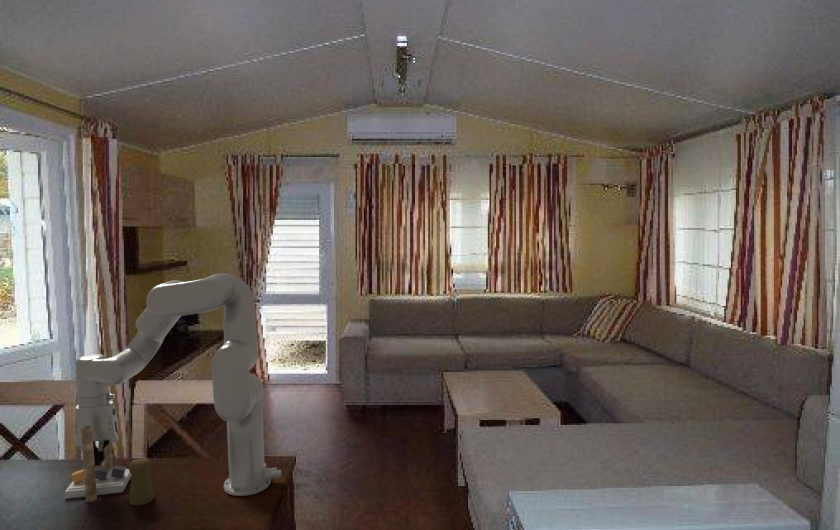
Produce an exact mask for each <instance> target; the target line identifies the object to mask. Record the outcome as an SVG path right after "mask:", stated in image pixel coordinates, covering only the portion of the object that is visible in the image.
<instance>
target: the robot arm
mask: <svg viewBox="0 0 840 530" xmlns="http://www.w3.org/2000/svg"><path fill="white" fill-rule="evenodd" d="M145 302H146V307H145V309H144V310H143V311H142V312H141V313H140V315H139V316H138V317H137V319H136V320H135V327H136V329H137V332H136V334H135V335H134V337H133V338H132V340H131V341H130V342H129V344H128V345H127V346H126V348H125V349H124V350H122V351H121V352H118V353H117V354H115V355H112V356H110V357H108V358H107V357H106V356H105V355H104V354H100V353H91V354H85V355H82V356H79V357H78V358H76V360H75V366H74V367H75V379H76V380H75V381H76V391H77V392H76V395H77V405H76V406H75V410H74V418H73V419H74V420H73V439H74V446H77V447H82V443H81V428H82V427H85V426H92V435H93V449H94V463H95V467H96V466H99V467H100V466H102V462H103V461H104V459H105V453H104V448H105V447H106V446H107V445H108V444H111V445H112V444H113V443H116V442H118V441H119V435H118V433H119V423H118V416H117V410H116V406H115V402H114V401H113V400H114V399H115V398H116V394H115V393H111V391H110V387H109V386H111V387H112V386H119V385H121V384H123V383H125V382H127V381H128V380H130V379H131V378H132V377H134V376H137V374H139V373H141V371H143V369H144V368H145V367H146V366H147V365H148V364H149V363H150V361H151V360H152V359H153V357H155V355H156V353H157V352H158V351H159V349H160V348H161V345H162V344H163V342H164V340H165V337H167V335H168V333H169V332H170V331H171V330H172V328H173V327H174V326H175V324H176V323H177V322H178V321H179V319H180V318H182V317H183V316H189V315H196V314H203V313H208V312H212V311H215V310H217V309H219V308H221V307H223V319H222V325H223V345H222V346H220V347H219V348H218V350H216V352H215V353H214V355H213V358H212V362H211V378H212V379H211V381H212V394H213V397H212V399H213V404H214V405H213V406H214V409H215V412H216V413H217V415H218V417H220V418H221V419H222V420H223V421H225V422H226V429H227V431H226V432H227V433H226V434H227V435H226V436H227V455H228V460H227V461H228V478H227V479H225V481H224V483H223V490H224V492H225V493H226V494H229V495H230V496H231V495H232V496H236V497H246V496H252V495H256V494H260V492H263V491H264V490H266V489H267V488H268V487H269V486H270V485H271V482H272V481H271V480H272V479H273V478H277V479H278V478H282V470H281V469H278V467H271V468H269V467H267V463H266V462H265V446H264V445H265V444H264V443H265V442H264V401H265V390H264V386H263V382H262V380H261V379H260V378H259V377H258V376H257V375H256V374H253V373H250V370H252V369H253V367H254V366H255V365H256V363H257V362H258V359H259V347H258V330H257V319H256V318H257V316H256V304H255V299H254V295H253V292H252V290H251V288H250V287H249V286H248V284H247V283H246V282H245V281H244V280H243V279H242V278H240V277H238V276H236V275H233V274H230V273H228V272H227V273H223V272H222V273H215V274H212V275H209V276H207V277H204V278H201V279H196V280H190V281H183V280H179V279H175V280H170V281H167V282H162V283H160V284H157V285H156V286H153V288H151V290H149V292H148V294H147V296H146V301H145ZM96 442H98V447H97V443H96Z"/></svg>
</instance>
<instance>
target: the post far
mask: <svg viewBox="0 0 840 530" xmlns="http://www.w3.org/2000/svg"><path fill="white" fill-rule="evenodd" d="M104 453H105V459H104V461H103V462H102V463H101V466H102V467H101V468H107V469H109V470H108V471H112V470H113V468H114V466H113V454H112V453H113V452H112V443H111V444H108V445H107V446H106V447H105V448H104Z"/></svg>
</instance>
